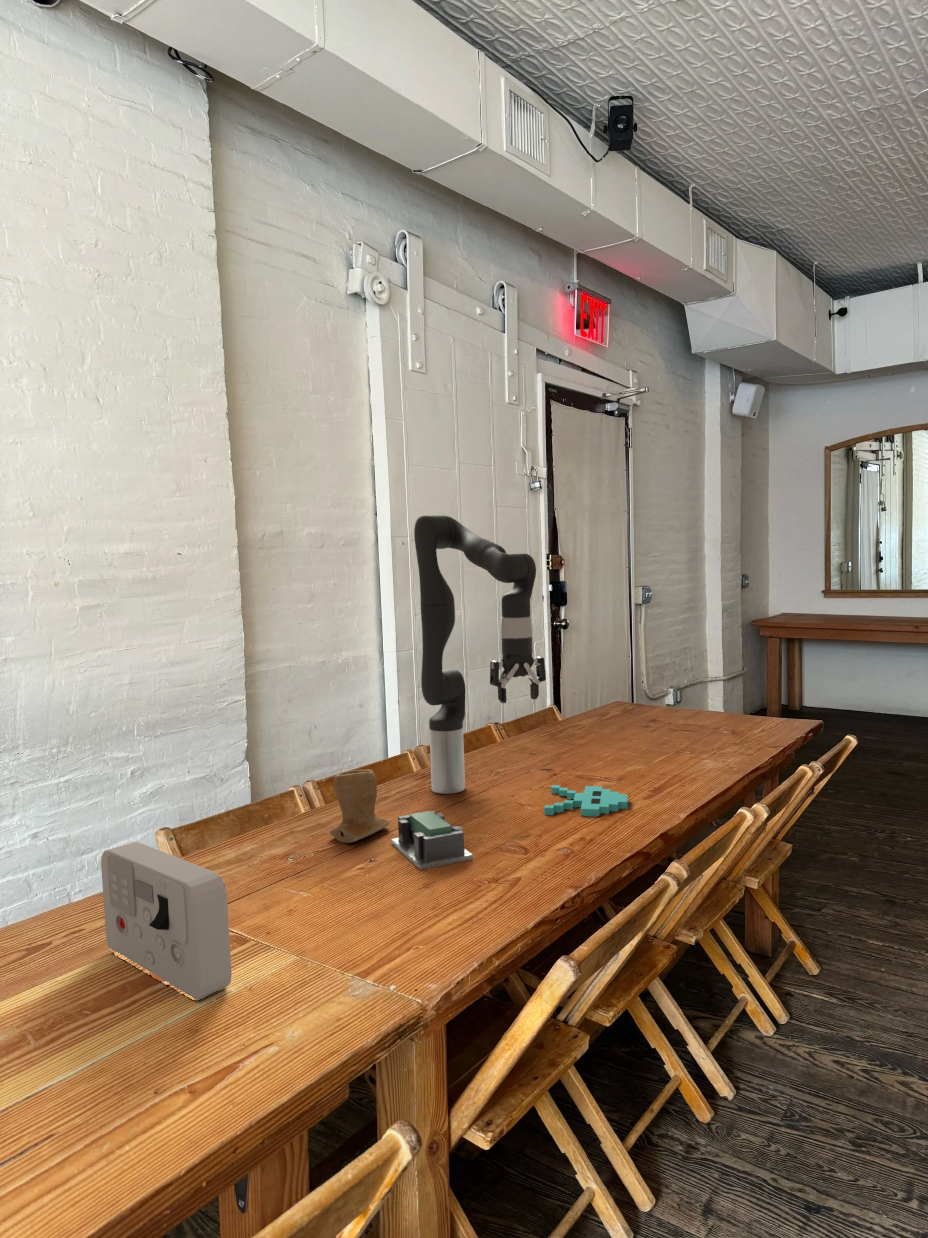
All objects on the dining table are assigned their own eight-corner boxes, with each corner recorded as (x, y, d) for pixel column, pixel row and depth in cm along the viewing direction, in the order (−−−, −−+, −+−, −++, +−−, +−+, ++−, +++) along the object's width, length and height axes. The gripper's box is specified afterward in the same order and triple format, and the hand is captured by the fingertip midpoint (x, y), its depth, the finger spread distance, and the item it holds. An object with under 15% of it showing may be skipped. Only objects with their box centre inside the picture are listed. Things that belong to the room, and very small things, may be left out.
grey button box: (93, 957, 138) (85, 851, 137) (136, 940, 144) (129, 838, 143) (187, 1014, 120) (180, 892, 119) (233, 991, 126) (226, 875, 124)
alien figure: (544, 816, 205) (627, 819, 201) (544, 807, 205) (627, 810, 201) (552, 793, 225) (627, 795, 221) (552, 785, 224) (627, 787, 220)
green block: (410, 827, 187) (409, 814, 186) (430, 823, 189) (430, 810, 188) (430, 843, 176) (429, 829, 175) (451, 839, 178) (451, 825, 177)
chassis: (391, 843, 188) (390, 817, 188) (440, 834, 193) (439, 809, 193) (419, 869, 172) (418, 841, 171) (472, 859, 177) (471, 831, 176)
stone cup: (357, 821, 205) (354, 761, 204) (396, 828, 199) (394, 766, 198) (316, 840, 192) (313, 776, 191) (356, 848, 186) (353, 782, 185)
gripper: (534, 632, 210) (536, 696, 211) (483, 636, 204) (485, 701, 206) (549, 634, 203) (551, 700, 205) (497, 638, 198) (499, 706, 199)
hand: (518, 700), depth 205 cm, fingers open, 8 cm apart
